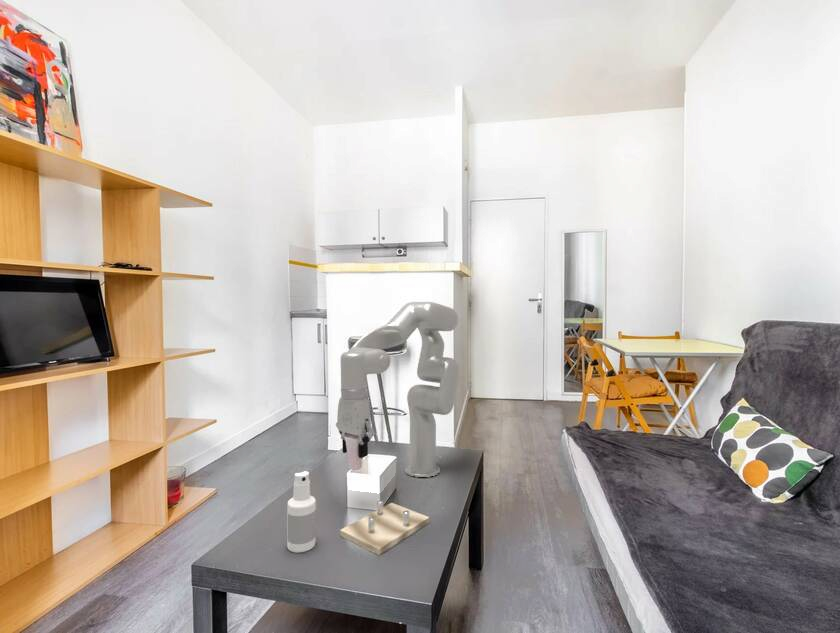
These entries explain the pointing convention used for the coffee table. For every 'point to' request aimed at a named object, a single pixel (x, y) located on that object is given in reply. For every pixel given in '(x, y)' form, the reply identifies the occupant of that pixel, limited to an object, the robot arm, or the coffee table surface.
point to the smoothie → (353, 451)
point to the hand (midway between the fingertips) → (355, 453)
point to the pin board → (384, 527)
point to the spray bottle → (301, 516)
